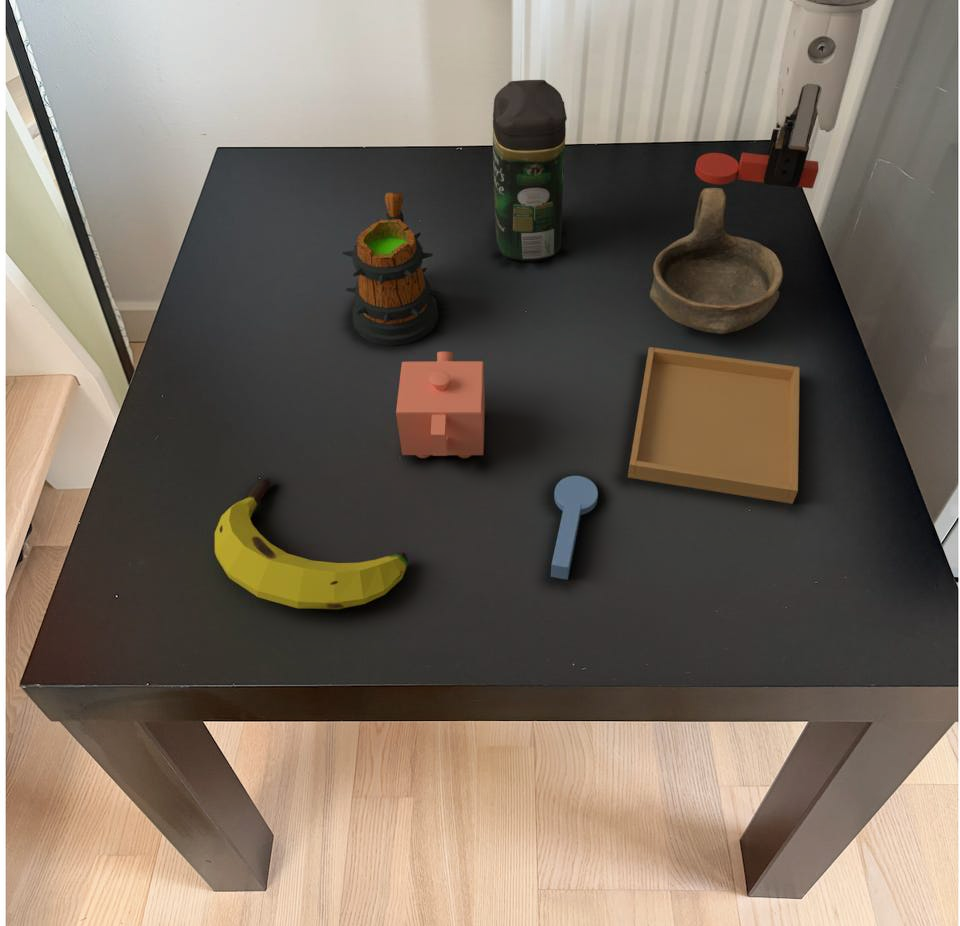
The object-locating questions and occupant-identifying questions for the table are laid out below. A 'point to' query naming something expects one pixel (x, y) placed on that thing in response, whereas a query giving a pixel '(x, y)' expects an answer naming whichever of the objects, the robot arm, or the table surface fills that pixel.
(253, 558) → the banana
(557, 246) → the coffee jar
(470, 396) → the pink cube teapot
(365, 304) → the mug
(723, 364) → the tray
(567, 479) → the blue paddle
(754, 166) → the red spoon
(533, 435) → the table surface
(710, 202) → the bowl
